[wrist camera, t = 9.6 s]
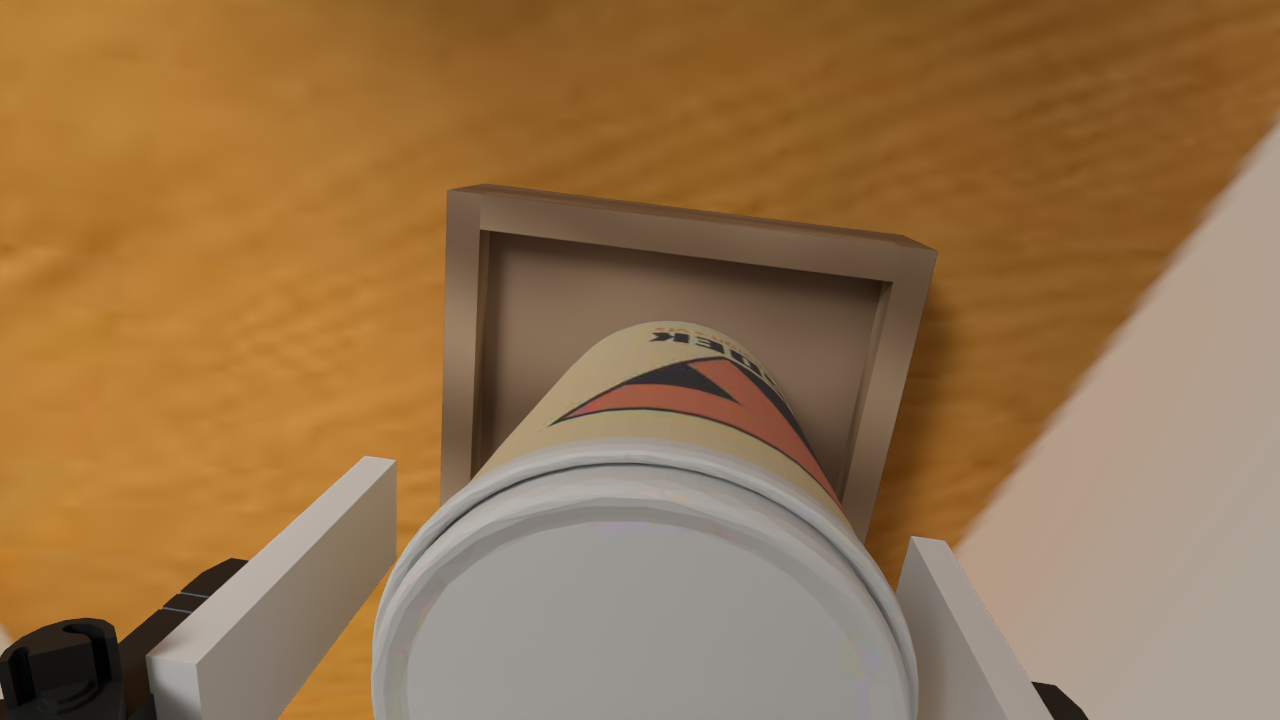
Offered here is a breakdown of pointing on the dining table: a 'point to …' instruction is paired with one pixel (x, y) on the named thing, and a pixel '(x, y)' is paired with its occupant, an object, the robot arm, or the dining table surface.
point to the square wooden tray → (676, 315)
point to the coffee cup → (645, 561)
